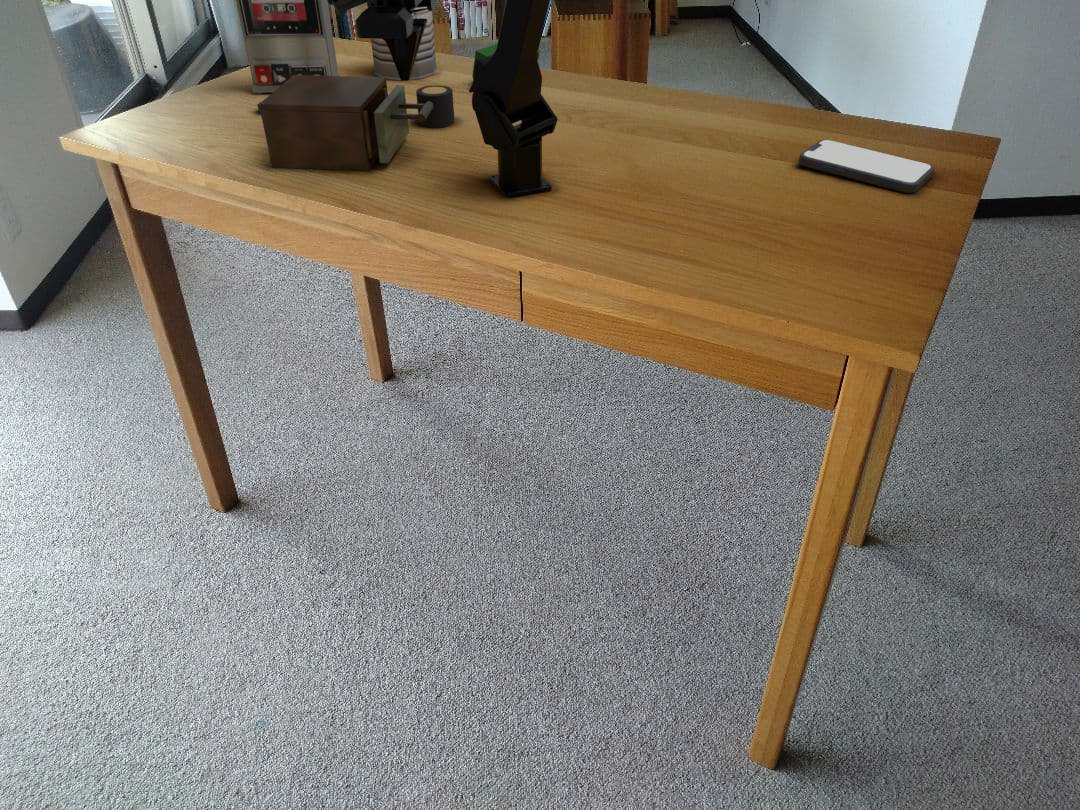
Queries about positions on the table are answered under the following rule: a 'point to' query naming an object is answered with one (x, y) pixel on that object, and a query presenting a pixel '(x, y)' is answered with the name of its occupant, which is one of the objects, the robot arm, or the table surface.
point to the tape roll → (437, 105)
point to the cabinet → (320, 122)
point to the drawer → (390, 121)
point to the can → (424, 58)
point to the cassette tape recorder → (286, 40)
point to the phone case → (867, 166)
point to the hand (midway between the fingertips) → (405, 80)
